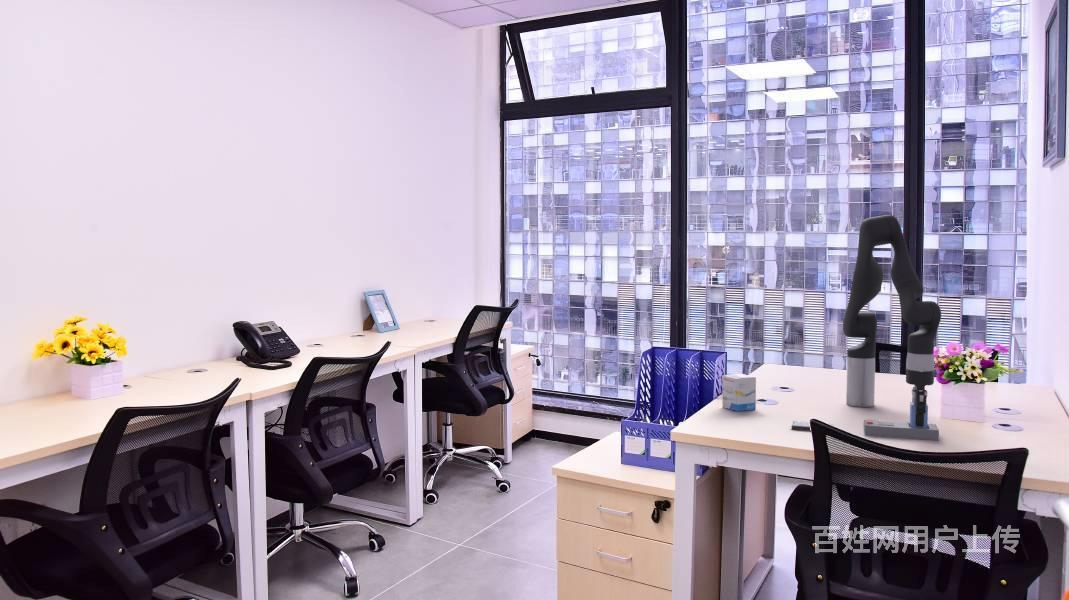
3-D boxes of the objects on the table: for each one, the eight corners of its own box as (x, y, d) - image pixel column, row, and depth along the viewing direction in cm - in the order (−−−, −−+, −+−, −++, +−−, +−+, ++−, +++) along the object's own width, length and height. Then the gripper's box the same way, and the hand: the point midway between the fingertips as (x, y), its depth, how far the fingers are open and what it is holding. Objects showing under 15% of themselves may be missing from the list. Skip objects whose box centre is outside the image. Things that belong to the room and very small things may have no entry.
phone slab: (792, 424, 251) (792, 420, 250) (832, 427, 246) (832, 423, 246) (791, 429, 244) (791, 425, 244) (832, 432, 240) (832, 428, 240)
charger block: (909, 428, 237) (910, 401, 237) (925, 429, 236) (926, 402, 235) (910, 431, 233) (911, 404, 233) (927, 432, 232) (928, 405, 231)
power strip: (863, 429, 244) (863, 418, 243) (935, 434, 236) (935, 422, 236) (864, 435, 236) (864, 423, 236) (938, 440, 229) (939, 428, 229)
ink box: (756, 409, 273) (756, 376, 272) (736, 412, 270) (736, 378, 269) (741, 405, 281) (741, 372, 280) (721, 407, 278) (721, 374, 277)
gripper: (904, 363, 241) (902, 418, 242) (908, 371, 228) (906, 429, 229) (931, 364, 238) (929, 420, 240) (937, 372, 225) (935, 431, 226)
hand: (918, 424), depth 234 cm, fingers closed on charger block, 4 cm apart
